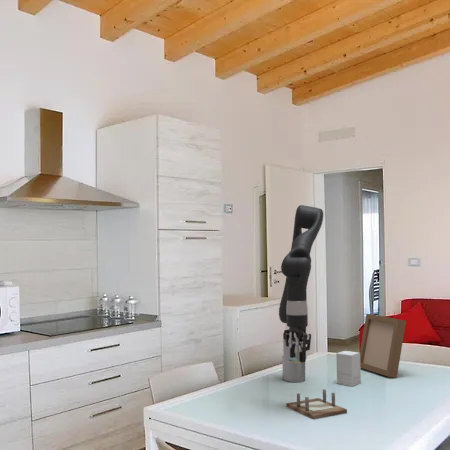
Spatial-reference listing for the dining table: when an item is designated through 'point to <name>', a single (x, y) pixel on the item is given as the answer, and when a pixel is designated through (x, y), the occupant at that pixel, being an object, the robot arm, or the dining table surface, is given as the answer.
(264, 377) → the dining table surface
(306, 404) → the pin tray
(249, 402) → the dining table surface
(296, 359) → the pacifier
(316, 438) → the dining table surface
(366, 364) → the photo frame
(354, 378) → the supplement box
